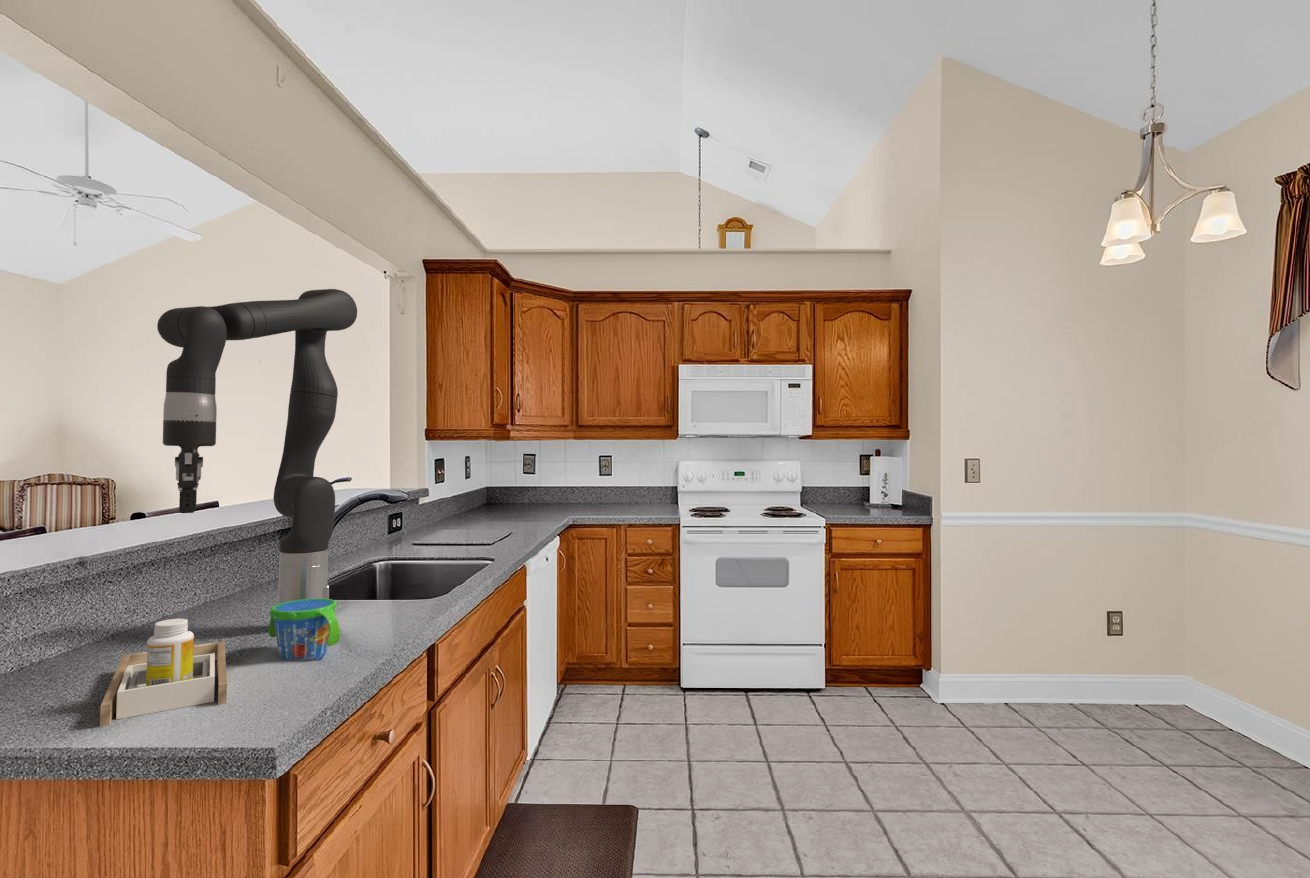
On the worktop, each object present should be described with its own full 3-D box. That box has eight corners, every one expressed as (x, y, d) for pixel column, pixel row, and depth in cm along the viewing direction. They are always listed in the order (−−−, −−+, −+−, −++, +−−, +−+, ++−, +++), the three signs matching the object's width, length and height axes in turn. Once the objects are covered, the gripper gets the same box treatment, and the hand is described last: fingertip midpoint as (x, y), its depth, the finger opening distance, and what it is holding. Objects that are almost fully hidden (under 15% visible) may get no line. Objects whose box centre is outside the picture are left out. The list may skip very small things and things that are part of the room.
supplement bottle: (187, 680, 96) (189, 615, 96) (196, 689, 93) (199, 621, 93) (141, 690, 92) (143, 622, 92) (149, 700, 88) (152, 629, 89)
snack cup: (248, 660, 113) (250, 605, 113) (303, 645, 122) (305, 593, 122) (301, 675, 106) (303, 616, 106) (355, 658, 115) (357, 603, 115)
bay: (223, 663, 111) (224, 641, 111) (226, 711, 91) (227, 684, 91) (122, 679, 103) (122, 655, 103) (99, 735, 82) (100, 705, 82)
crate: (213, 675, 102) (214, 653, 102) (213, 701, 91) (214, 676, 91) (126, 689, 95) (127, 665, 95) (116, 719, 85) (117, 692, 85)
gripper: (216, 418, 105) (214, 513, 105) (216, 421, 116) (213, 506, 116) (160, 417, 100) (158, 515, 100) (165, 420, 112) (163, 508, 112)
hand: (188, 510), depth 108 cm, fingers open, 8 cm apart
